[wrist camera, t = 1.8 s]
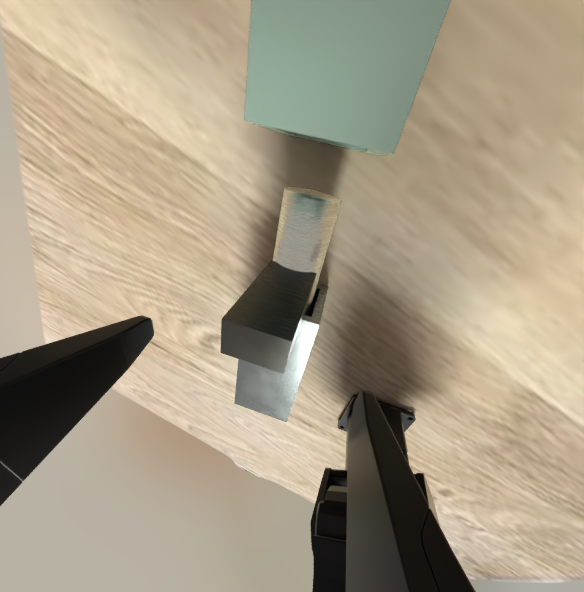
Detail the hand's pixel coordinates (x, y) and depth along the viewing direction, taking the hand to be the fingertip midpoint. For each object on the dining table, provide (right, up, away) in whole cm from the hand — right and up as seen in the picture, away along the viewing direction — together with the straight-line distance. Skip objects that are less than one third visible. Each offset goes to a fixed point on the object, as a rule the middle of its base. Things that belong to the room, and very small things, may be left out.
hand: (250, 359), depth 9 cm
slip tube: (+2, +2, +10) cm, 11 cm away
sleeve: (+1, 0, +13) cm, 13 cm away
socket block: (+5, +14, +3) cm, 15 cm away
